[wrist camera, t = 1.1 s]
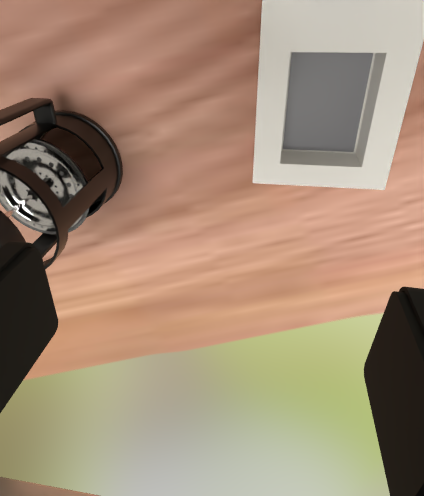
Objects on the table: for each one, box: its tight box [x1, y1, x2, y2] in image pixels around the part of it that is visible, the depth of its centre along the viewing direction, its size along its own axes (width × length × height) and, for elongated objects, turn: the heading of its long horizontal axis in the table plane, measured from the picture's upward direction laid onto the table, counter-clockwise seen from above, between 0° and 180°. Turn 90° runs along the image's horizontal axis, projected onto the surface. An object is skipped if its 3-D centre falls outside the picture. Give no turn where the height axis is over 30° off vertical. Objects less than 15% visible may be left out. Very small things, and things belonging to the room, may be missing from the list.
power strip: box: [253, 0, 424, 190], centre depth 24 cm, size 20×10×9 cm, turn 0°
